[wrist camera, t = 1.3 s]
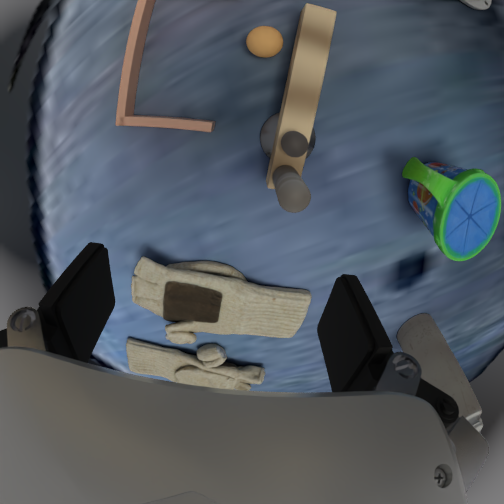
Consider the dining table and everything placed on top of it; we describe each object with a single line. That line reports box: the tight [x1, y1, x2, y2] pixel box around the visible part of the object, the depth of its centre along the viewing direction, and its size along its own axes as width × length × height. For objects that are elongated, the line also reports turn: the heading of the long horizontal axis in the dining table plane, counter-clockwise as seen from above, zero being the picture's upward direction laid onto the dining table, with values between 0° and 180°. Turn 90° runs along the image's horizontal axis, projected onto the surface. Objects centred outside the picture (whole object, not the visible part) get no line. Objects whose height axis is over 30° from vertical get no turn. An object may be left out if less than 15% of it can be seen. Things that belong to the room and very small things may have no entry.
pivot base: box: [260, 113, 315, 159], centre depth 28 cm, size 6×6×1 cm
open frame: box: [116, 0, 215, 132], centre depth 22 cm, size 17×10×2 cm, turn 170°
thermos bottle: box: [397, 313, 483, 433], centre depth 32 cm, size 8×8×28 cm
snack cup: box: [402, 157, 501, 261], centre depth 26 cm, size 16×10×10 cm
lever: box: [266, 3, 336, 213], centre depth 21 cm, size 20×3×9 cm, turn 170°
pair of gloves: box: [126, 256, 311, 391], centre depth 41 cm, size 30×26×5 cm
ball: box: [246, 26, 283, 58], centre depth 21 cm, size 4×4×4 cm
